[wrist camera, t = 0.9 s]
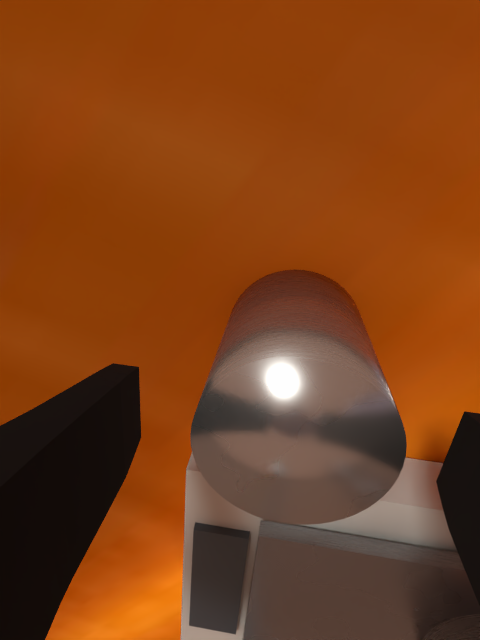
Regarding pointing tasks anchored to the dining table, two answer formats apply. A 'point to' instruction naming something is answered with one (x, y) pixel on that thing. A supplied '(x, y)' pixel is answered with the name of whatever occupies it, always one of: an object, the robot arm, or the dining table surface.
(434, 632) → the cylinder
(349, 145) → the dining table surface
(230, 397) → the cylinder
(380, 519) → the scale
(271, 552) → the grey metal plate
